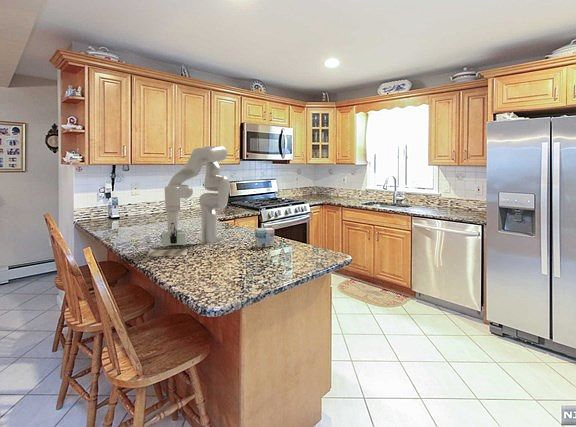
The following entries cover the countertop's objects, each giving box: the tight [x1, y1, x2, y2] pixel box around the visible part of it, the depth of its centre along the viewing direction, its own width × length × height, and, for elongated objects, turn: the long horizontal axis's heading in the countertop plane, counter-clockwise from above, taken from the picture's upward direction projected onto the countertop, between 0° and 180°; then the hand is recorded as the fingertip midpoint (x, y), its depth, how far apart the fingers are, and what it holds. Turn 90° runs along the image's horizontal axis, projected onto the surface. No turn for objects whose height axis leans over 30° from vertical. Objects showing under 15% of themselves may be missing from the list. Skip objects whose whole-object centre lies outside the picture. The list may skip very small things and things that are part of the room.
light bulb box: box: [254, 227, 275, 248], centre depth 218 cm, size 11×7×11 cm, turn 112°
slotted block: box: [161, 230, 187, 247], centre depth 192 cm, size 12×6×6 cm, turn 103°
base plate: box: [146, 248, 188, 257], centre depth 192 cm, size 20×14×2 cm
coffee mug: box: [160, 229, 183, 248], centre depth 209 cm, size 12×9×10 cm
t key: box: [138, 234, 158, 247], centre depth 215 cm, size 2×10×6 cm, turn 102°
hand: (174, 241), depth 192 cm, fingers closed on slotted block, 6 cm apart
